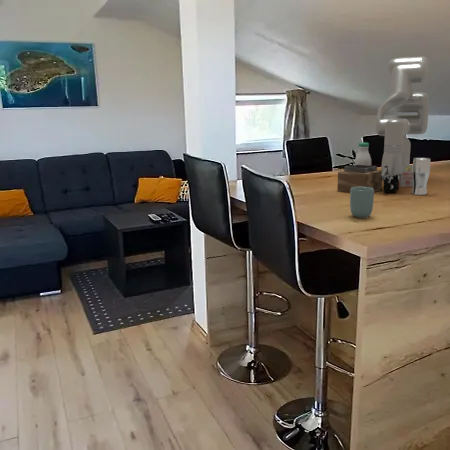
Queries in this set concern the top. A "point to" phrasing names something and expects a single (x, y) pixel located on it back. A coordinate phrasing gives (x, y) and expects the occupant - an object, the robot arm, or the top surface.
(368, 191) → the cup
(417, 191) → the beer glass
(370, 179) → the housing
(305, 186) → the top surface
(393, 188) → the billiard ball
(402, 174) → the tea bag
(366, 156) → the milk bottle
